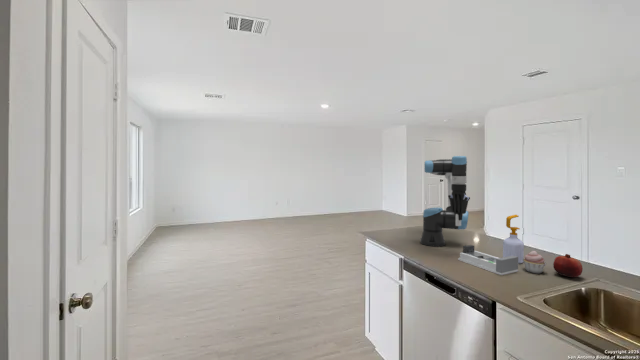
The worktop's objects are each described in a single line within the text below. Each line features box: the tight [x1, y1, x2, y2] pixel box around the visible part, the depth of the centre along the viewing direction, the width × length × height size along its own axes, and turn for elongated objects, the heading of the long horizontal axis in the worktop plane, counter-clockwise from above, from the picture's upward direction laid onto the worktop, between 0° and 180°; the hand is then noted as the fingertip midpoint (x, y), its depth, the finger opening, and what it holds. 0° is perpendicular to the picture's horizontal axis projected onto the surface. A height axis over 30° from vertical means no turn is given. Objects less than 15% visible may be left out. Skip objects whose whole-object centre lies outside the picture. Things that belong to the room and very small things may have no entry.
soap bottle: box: [502, 214, 525, 264], centre depth 153 cm, size 9×9×25 cm
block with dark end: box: [462, 244, 493, 262], centre depth 151 cm, size 13×9×6 cm
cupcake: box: [523, 250, 547, 274], centre depth 138 cm, size 9×9×10 cm
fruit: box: [552, 253, 584, 278], centre depth 132 cm, size 11×10×10 cm
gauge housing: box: [457, 249, 519, 276], centre depth 147 cm, size 24×12×7 cm, turn 23°
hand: (458, 225), depth 162 cm, fingers closed
